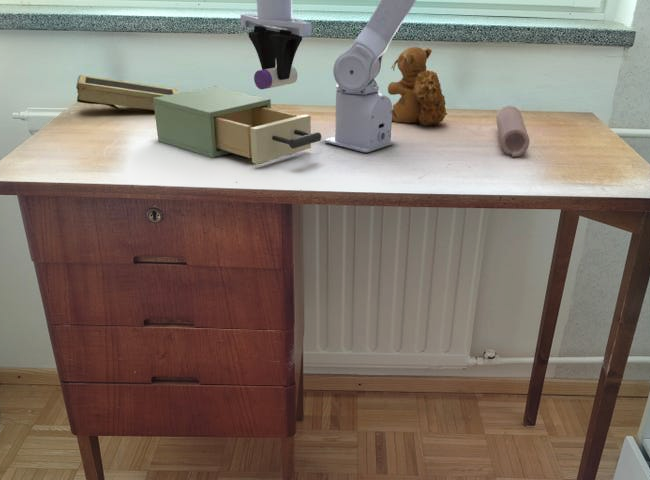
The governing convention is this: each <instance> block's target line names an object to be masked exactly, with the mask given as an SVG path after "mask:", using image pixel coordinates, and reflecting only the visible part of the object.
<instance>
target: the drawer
mask: <svg viewBox="0 0 650 480" xmlns="http://www.w3.org/2000/svg"><path fill="white" fill-rule="evenodd" d="M311 118H312V116H311V114H306V113H305V114H301V115H297V114H295V113H290V112H287V111H282V110H278V109H274V108H271V109H270V108H266V107H262V106H260V107H256V108H251V109H247V110H242V111H238V112H233V113H229V114H224V115H220V116H215V117H214V128H215V141H216V148H218V149H221V150H225V151H228V152H231V153H232V154H235V155H238V156H242V157H244V158H245V157H246V158H248V159H250V158H251V163H253V164H255V165H259V164H263V163H266V162H270V161H272V160H276V159H279V158H283V157H286V156H289V155H294V154H296V153H298V152H303V151H306V150H310V149H311V148H312V144H314V143H318V142H320V141H321V140H322V135H321V133H320V132H319V131H315V132H311V131H312V129H311V128H312V125H311V123H312V119H311ZM231 153H230V154H231Z"/></svg>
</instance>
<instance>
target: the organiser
mask: <svg viewBox="0 0 650 480" xmlns="http://www.w3.org/2000/svg"><path fill="white" fill-rule="evenodd" d="M271 100H272V99H271V98H267V97H263V96H257V95H254V94H250V93H245V92H241V91H236V90H231V89H227V88H223V87H218V86H210V87H204V88H199V89H193V90H189V91H183V92H179V93H177V94H172V95H166V96H161V97H156V98H153V101H154V110H153V111H154V118H155V127H156V134H157V140H158V142H161V143H164V144H167V145H171V146H174V147H177V148H181V149H183V150H187V151H191V152H193V153H196V154H199V155H202V156H206V157H210V158H212V159H214V158H218V157H221V156H225V155H228V154H231V152H228V151H225V150H221V149H218V148H216V141H215V128H214V117H215V116H220V115H224V114H229V113H233V112H238V111H242V110H247V109H251V108H256V107H260V106H262V107H266V108H270V109H272V101H271Z"/></svg>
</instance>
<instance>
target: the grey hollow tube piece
mask: <svg viewBox="0 0 650 480" xmlns="http://www.w3.org/2000/svg"><path fill="white" fill-rule="evenodd" d="M495 121H496V127H497V132H498V137H499V143H500V146H501V149H502V151H503V153H505V154H507V155H510V156H511V158H517V157H520V156H522V155H523V154H525V153H526V151H528V148H529V146H530V137H529V133H528V131H527V128H526V125H525V122H524V119H523V116H522V113H521V112H520V110H519V109H518V108H517V107H515V106H512V105H509V106H505V107H502V108H501V109H500V110H499V111H498V112H497V115H496V117H495Z"/></svg>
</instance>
